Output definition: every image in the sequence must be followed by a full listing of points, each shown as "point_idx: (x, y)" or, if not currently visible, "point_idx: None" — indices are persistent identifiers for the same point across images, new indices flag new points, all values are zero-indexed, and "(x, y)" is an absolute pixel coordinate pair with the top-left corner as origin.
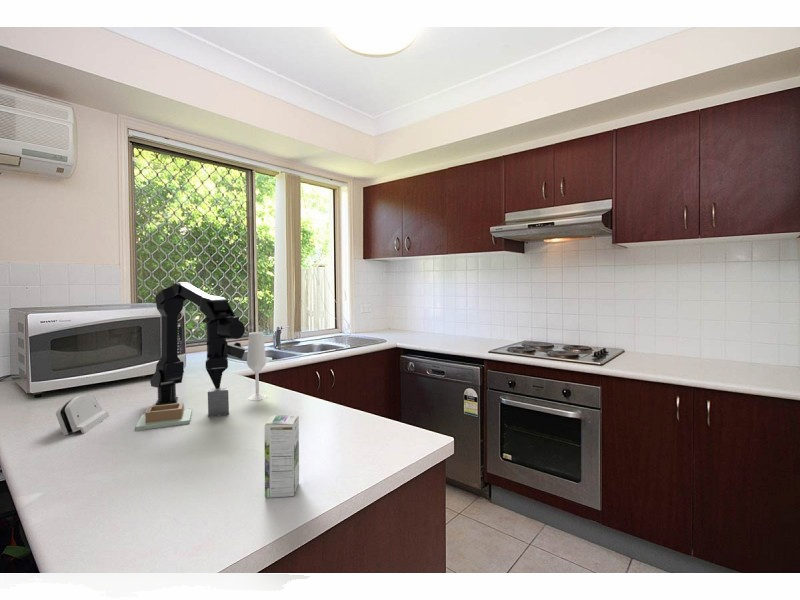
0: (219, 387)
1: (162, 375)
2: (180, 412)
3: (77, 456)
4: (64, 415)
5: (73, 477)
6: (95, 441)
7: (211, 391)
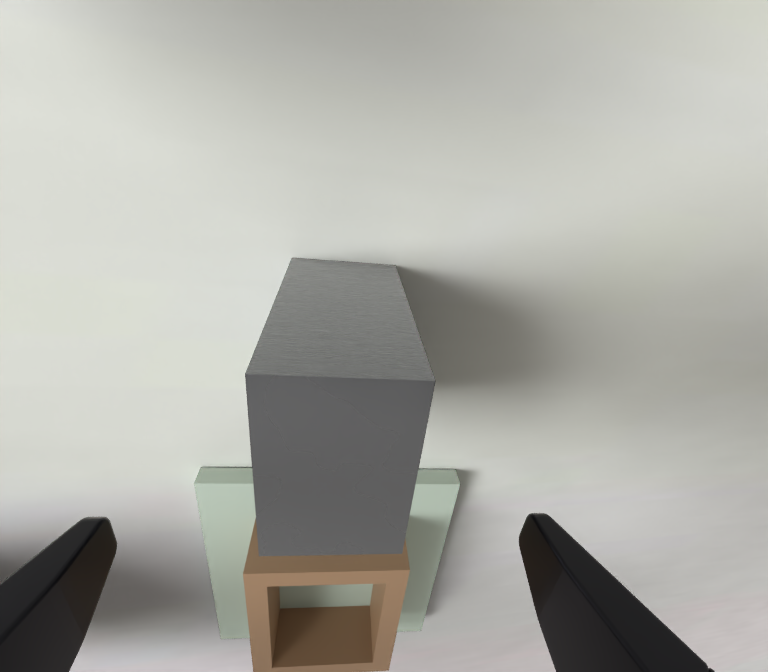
0: (554, 523)
1: None
2: (405, 551)
3: None
4: None
5: (734, 645)
6: (467, 667)
7: (404, 528)
